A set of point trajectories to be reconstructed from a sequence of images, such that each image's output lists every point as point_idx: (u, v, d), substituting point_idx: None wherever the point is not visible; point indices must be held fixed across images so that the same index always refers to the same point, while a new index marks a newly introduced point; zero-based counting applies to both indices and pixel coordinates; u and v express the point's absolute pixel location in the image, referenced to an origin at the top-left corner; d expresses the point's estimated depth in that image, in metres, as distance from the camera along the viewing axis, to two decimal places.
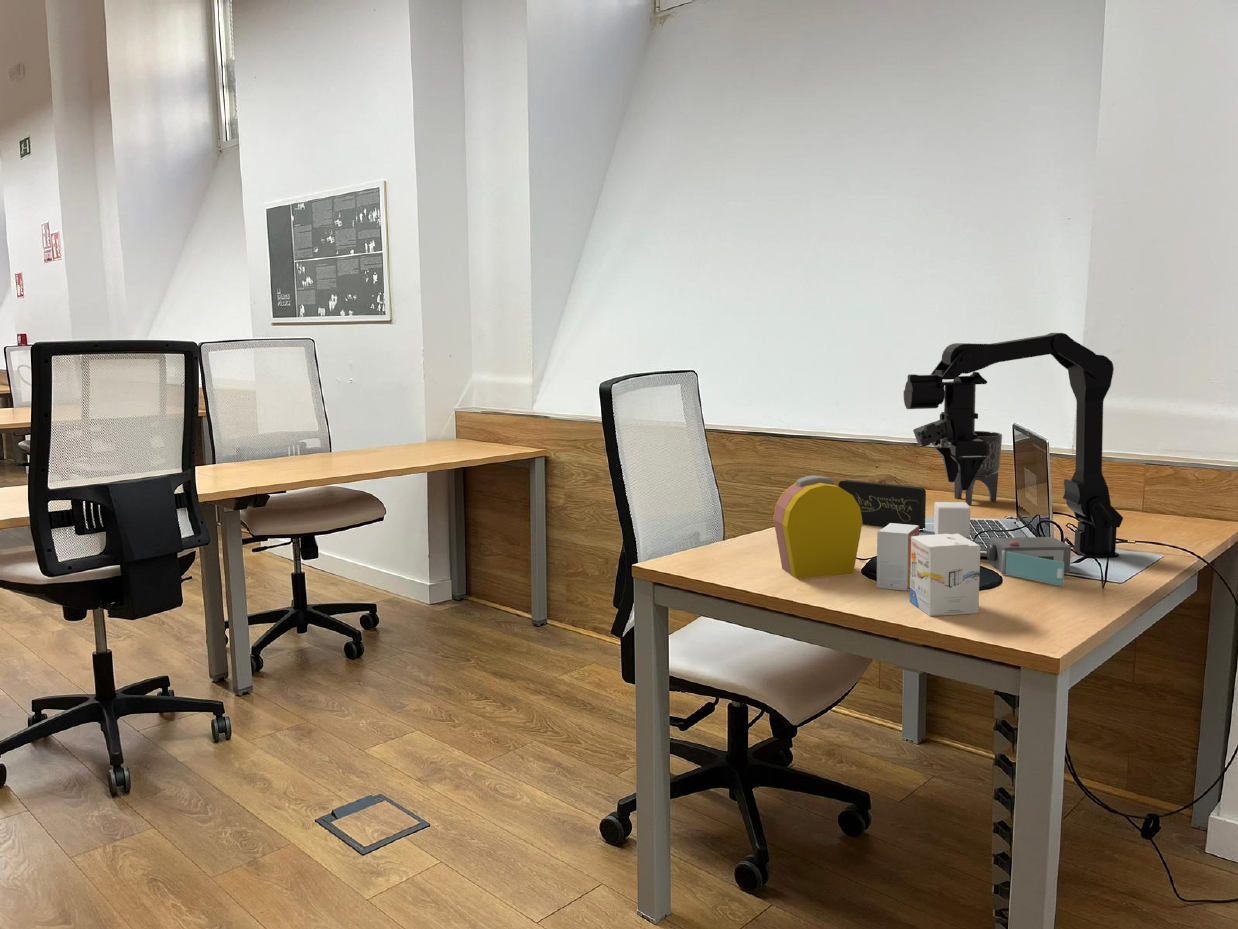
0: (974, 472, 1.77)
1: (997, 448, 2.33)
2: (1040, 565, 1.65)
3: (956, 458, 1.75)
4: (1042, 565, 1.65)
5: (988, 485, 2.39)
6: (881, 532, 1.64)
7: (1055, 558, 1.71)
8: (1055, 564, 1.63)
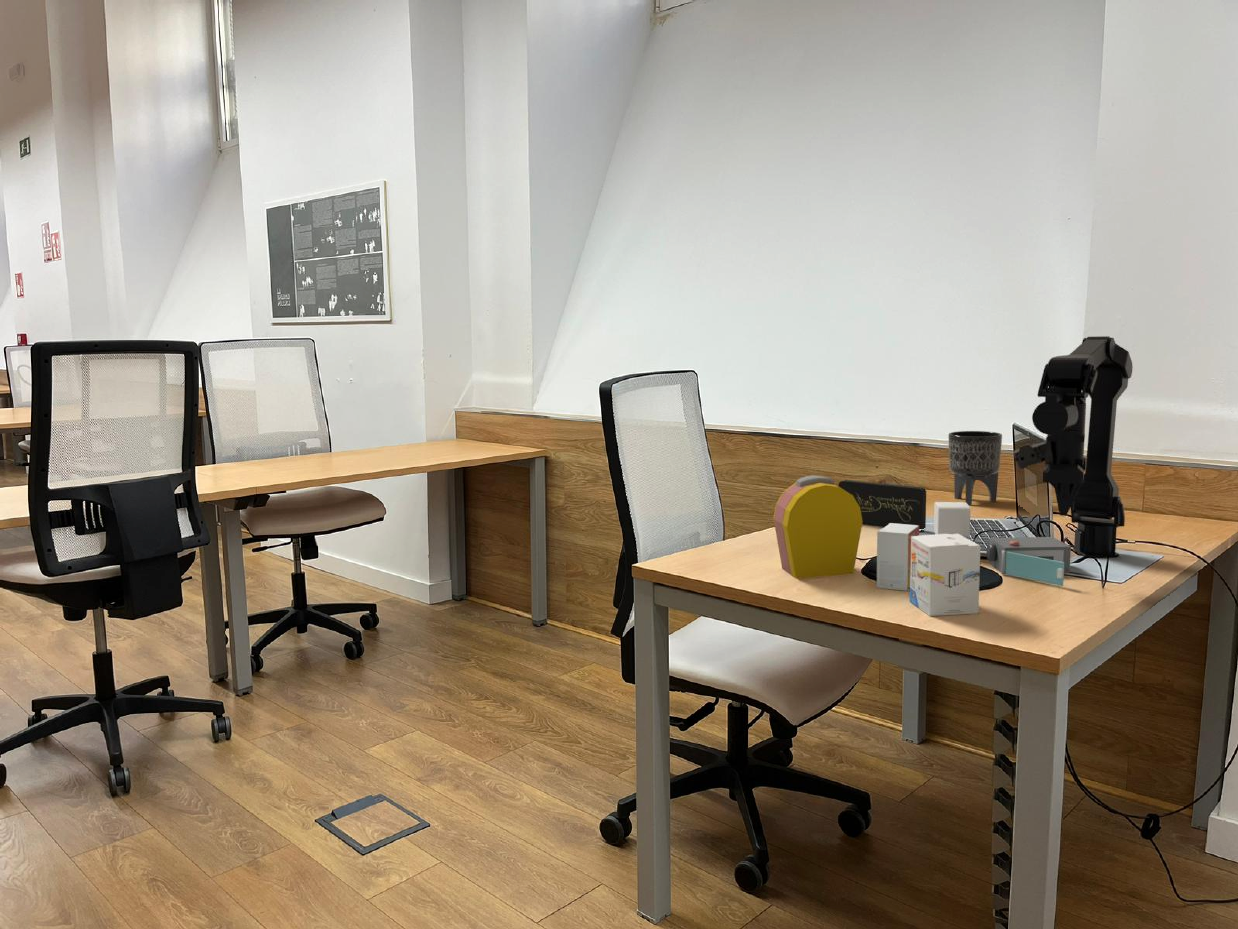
0: (1072, 497, 1.63)
1: (997, 448, 2.33)
2: (1040, 565, 1.65)
3: None
4: (1042, 565, 1.65)
5: (988, 485, 2.39)
6: (881, 532, 1.64)
7: (1055, 558, 1.71)
8: (1055, 564, 1.63)
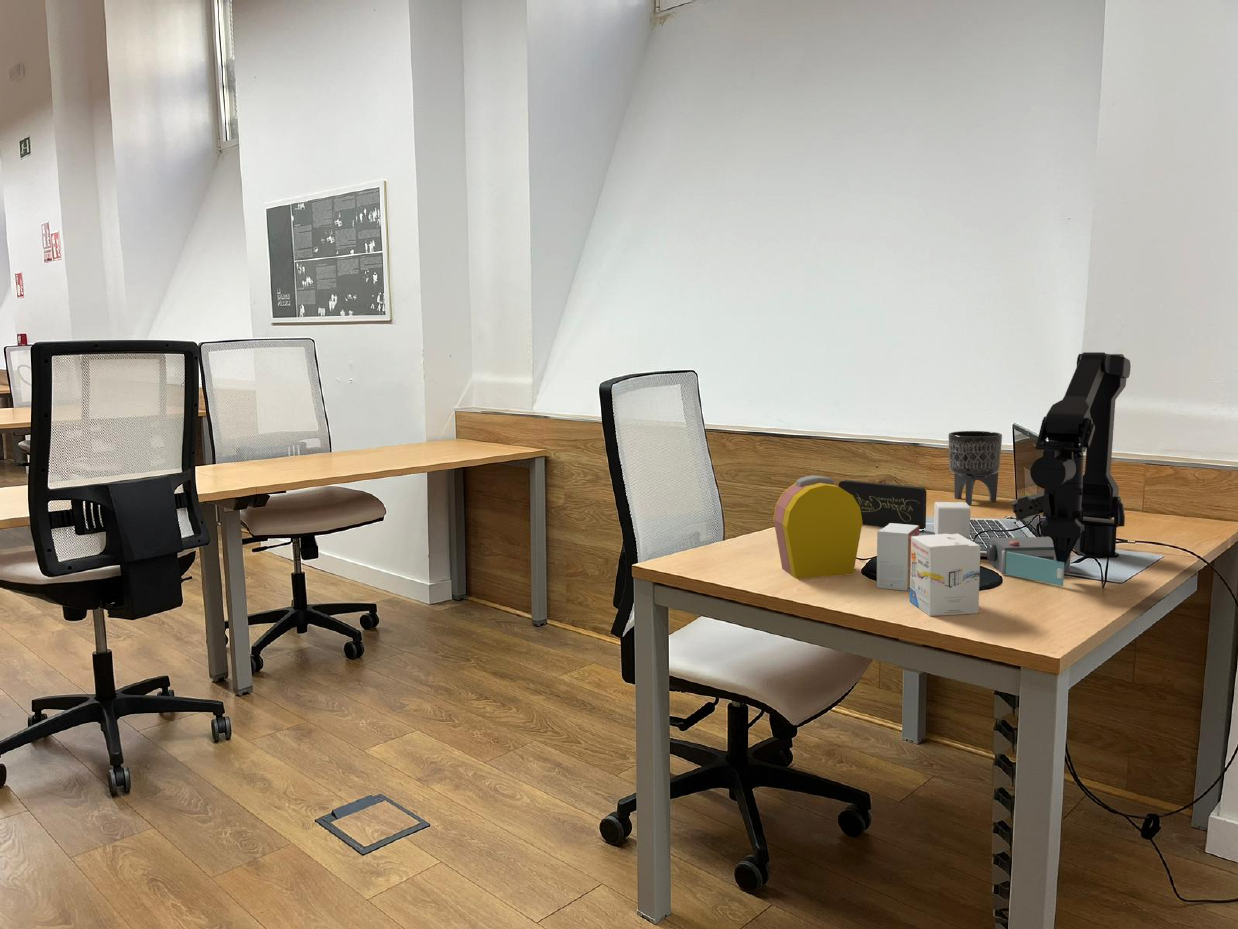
0: (1070, 549, 1.64)
1: (997, 448, 2.33)
2: (1040, 565, 1.65)
3: None
4: (1042, 565, 1.65)
5: (988, 485, 2.39)
6: (881, 532, 1.64)
7: (1055, 558, 1.71)
8: (1055, 564, 1.63)
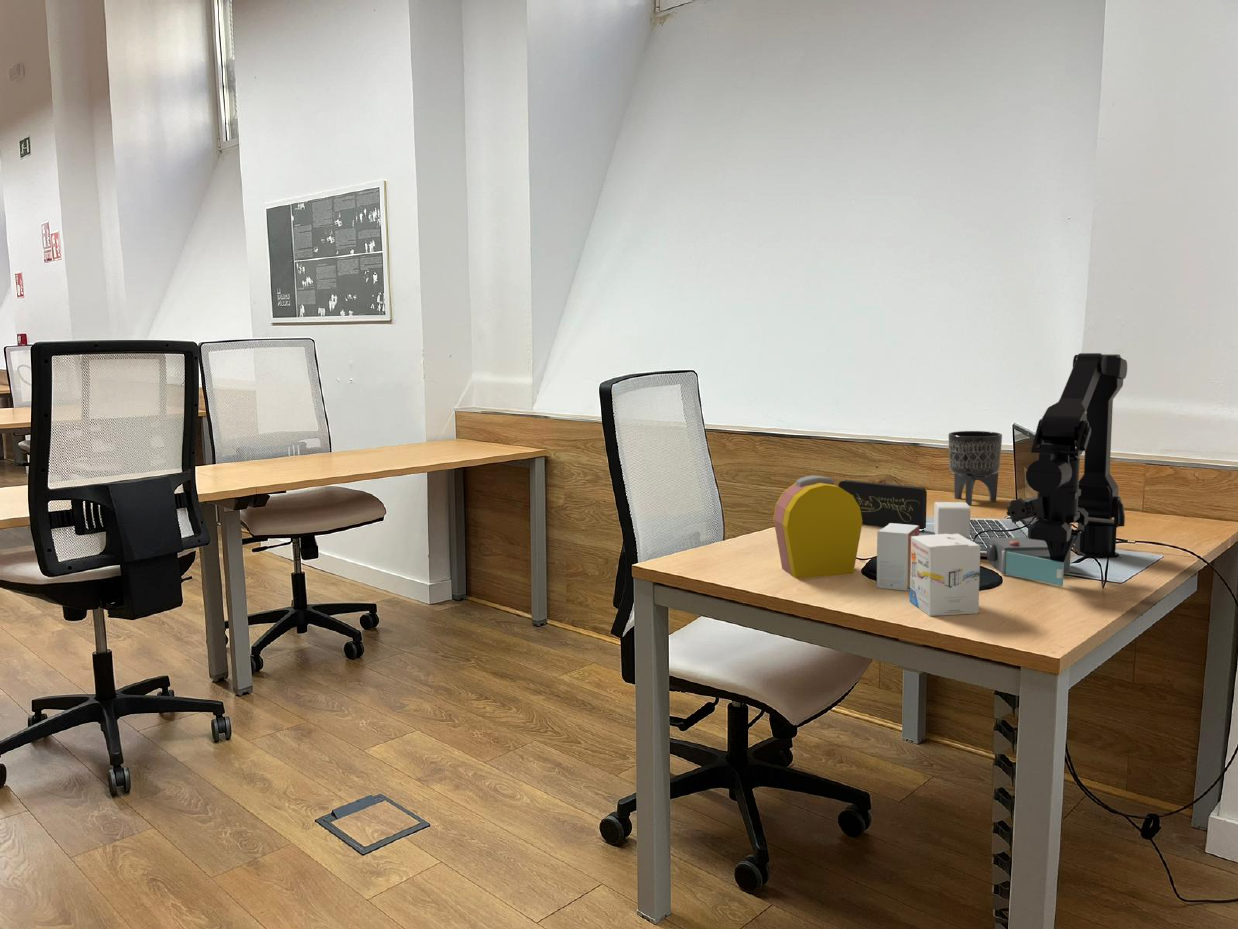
0: (1064, 553, 1.62)
1: (997, 448, 2.33)
2: (1040, 565, 1.65)
3: None
4: (1042, 565, 1.65)
5: (988, 485, 2.39)
6: (881, 532, 1.64)
7: None
8: (1055, 564, 1.63)
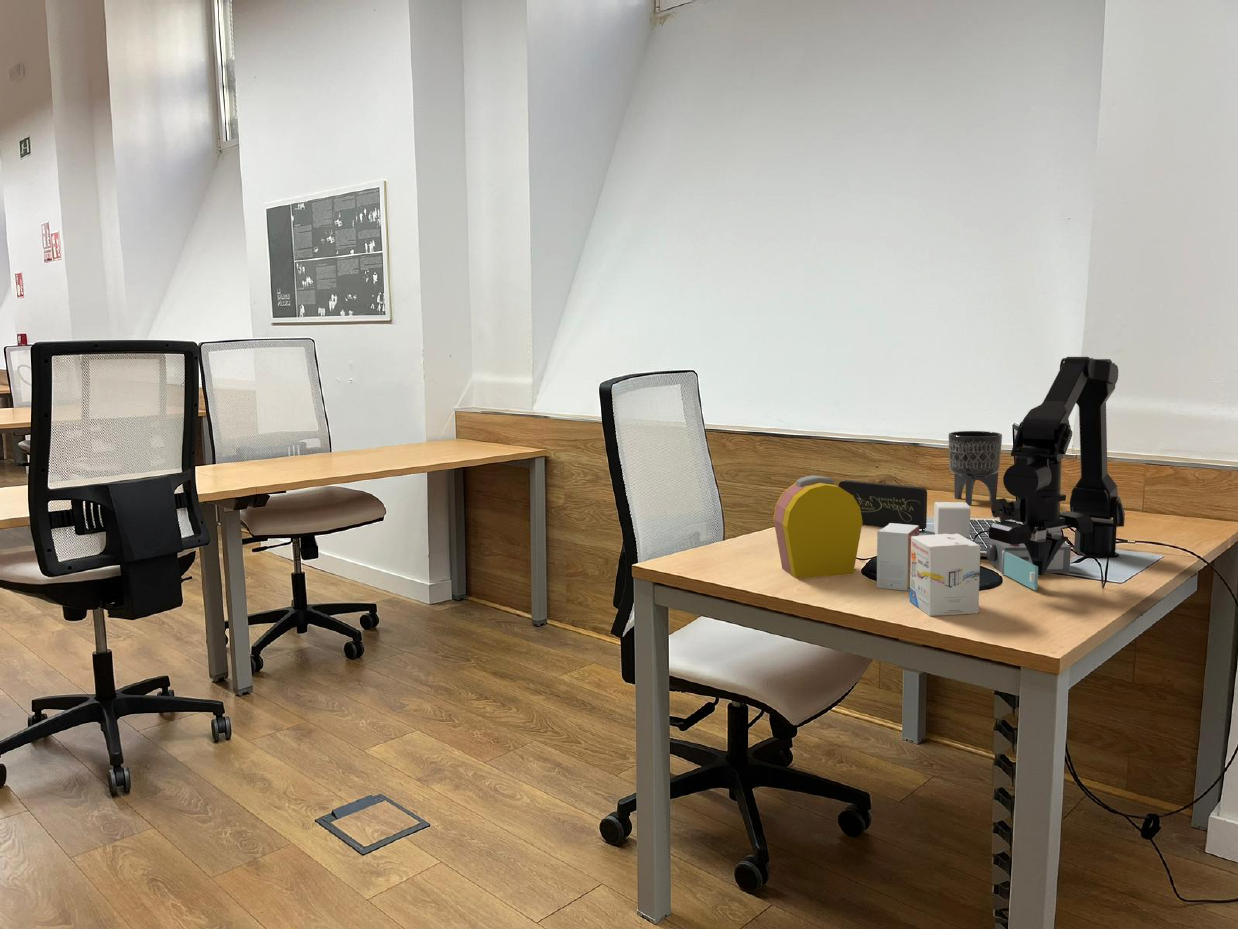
0: (1040, 557, 1.60)
1: (997, 448, 2.33)
2: (1023, 567, 1.64)
3: None
4: (1024, 568, 1.63)
5: (988, 485, 2.39)
6: (881, 532, 1.64)
7: (1055, 558, 1.71)
8: (1031, 568, 1.61)
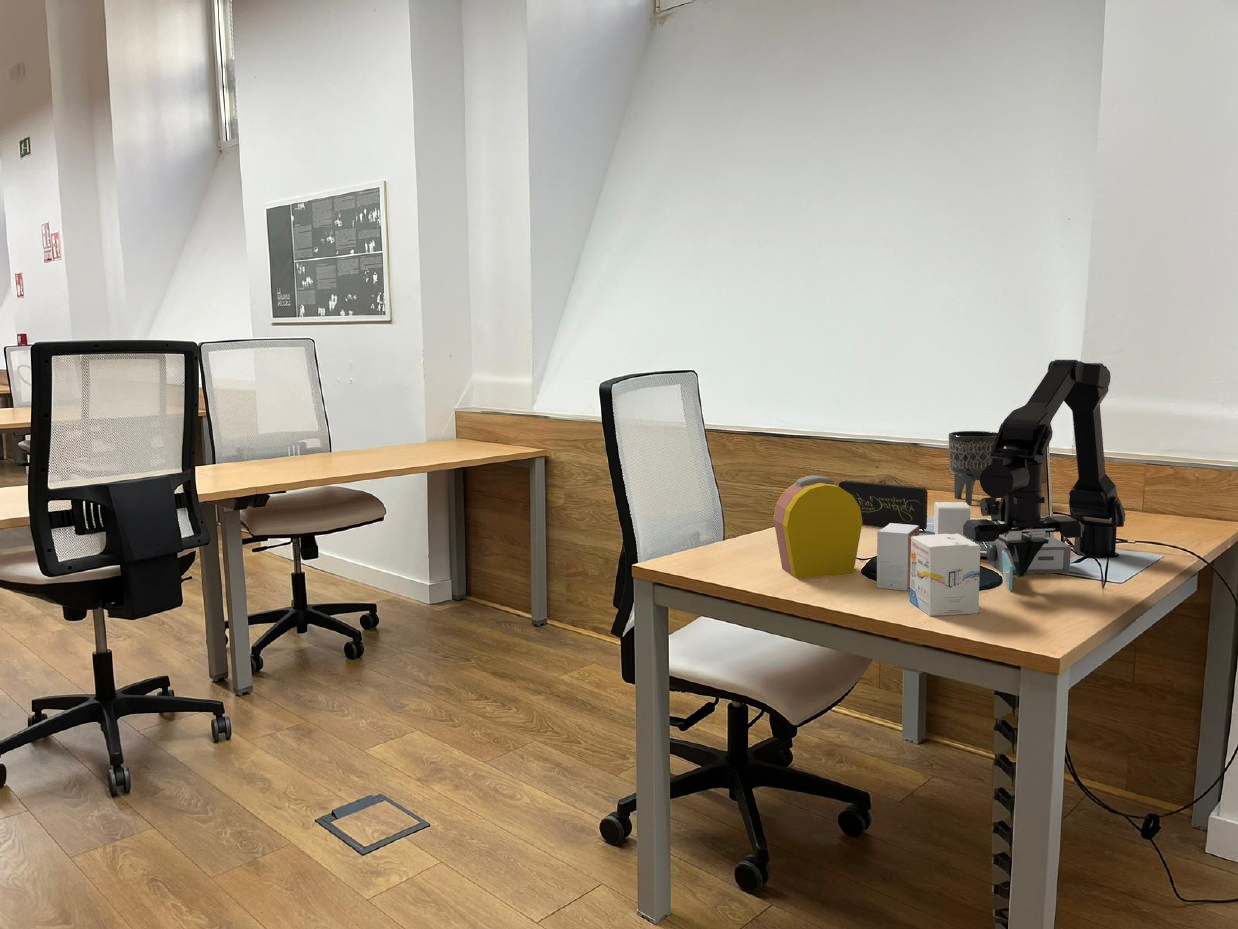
0: (1017, 558, 1.60)
1: None
2: (1007, 567, 1.64)
3: None
4: (1007, 568, 1.64)
5: None
6: (881, 532, 1.64)
7: (1055, 558, 1.71)
8: (1008, 568, 1.61)
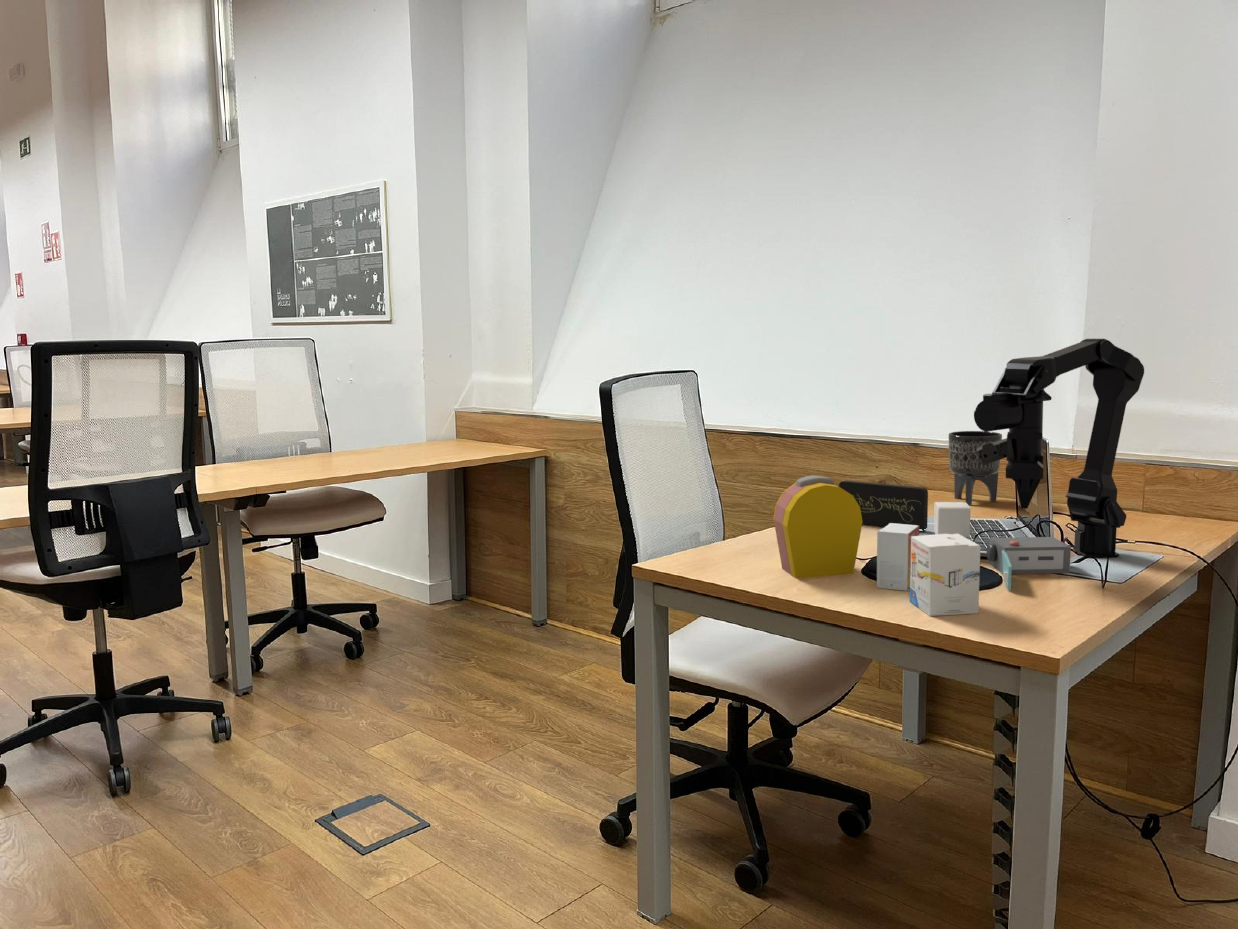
0: (1032, 491, 1.72)
1: None
2: (1006, 567, 1.64)
3: None
4: (1006, 568, 1.64)
5: (988, 485, 2.39)
6: (881, 532, 1.64)
7: (1055, 558, 1.71)
8: (1007, 568, 1.62)
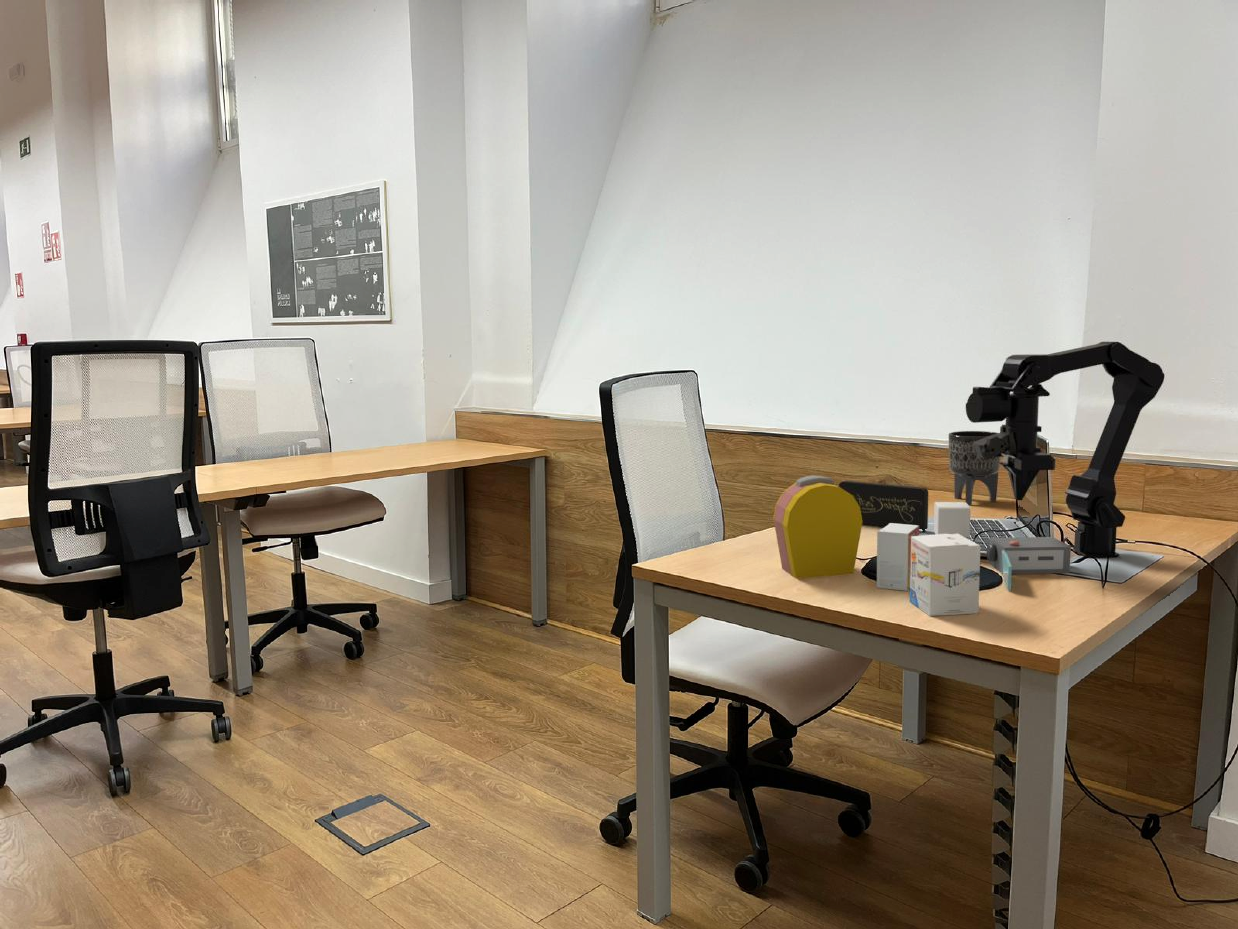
0: (1029, 482, 1.78)
1: None
2: (1006, 567, 1.64)
3: (1012, 468, 1.76)
4: (1006, 568, 1.64)
5: (988, 485, 2.39)
6: (881, 532, 1.64)
7: (1055, 558, 1.71)
8: (1007, 568, 1.62)
